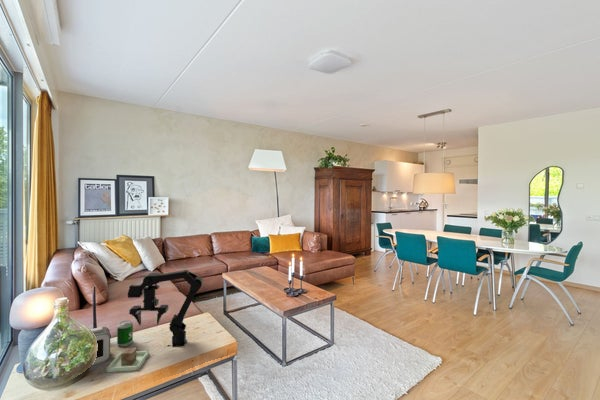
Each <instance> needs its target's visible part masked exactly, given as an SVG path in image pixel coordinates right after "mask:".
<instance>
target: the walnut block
mask: <svg viewBox="0 0 600 400" xmlns="http://www.w3.org/2000/svg"><path fill="white" fill-rule="evenodd" d="M136 351H138V350H137V347H127V348H125V349H124V350H123V351H121V352H122V354H121V366H126V365H133V363H134V362H135V360H136Z"/></svg>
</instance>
